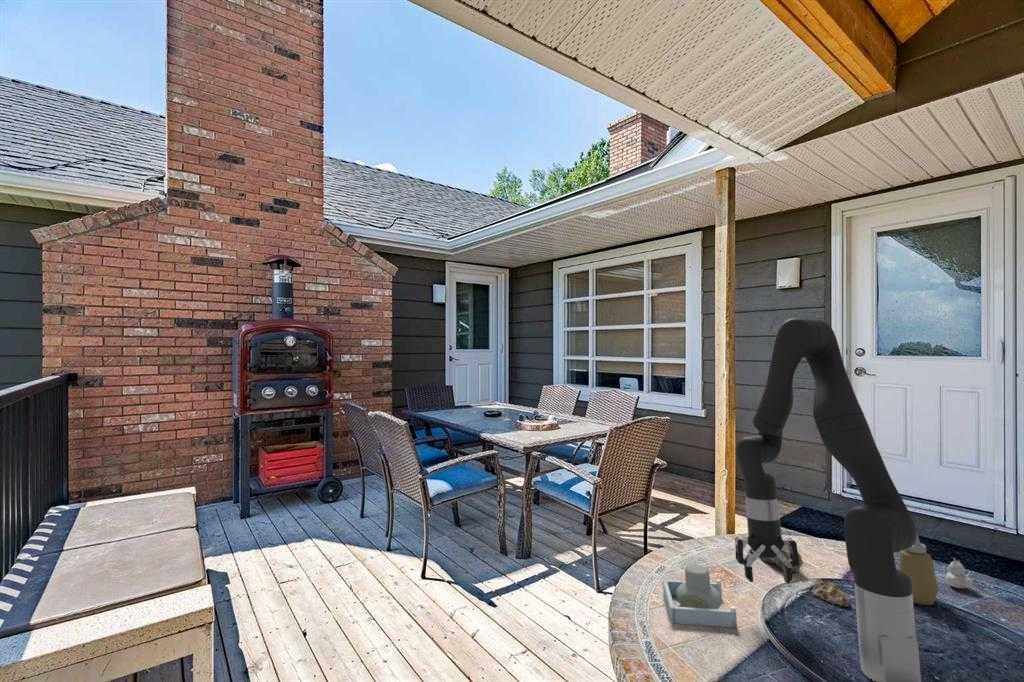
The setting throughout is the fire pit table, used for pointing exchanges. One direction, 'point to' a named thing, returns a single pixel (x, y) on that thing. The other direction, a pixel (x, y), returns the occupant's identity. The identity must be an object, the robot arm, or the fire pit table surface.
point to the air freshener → (698, 589)
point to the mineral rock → (830, 593)
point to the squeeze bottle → (919, 573)
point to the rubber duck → (958, 576)
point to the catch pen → (697, 609)
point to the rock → (777, 561)
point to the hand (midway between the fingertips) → (768, 581)
